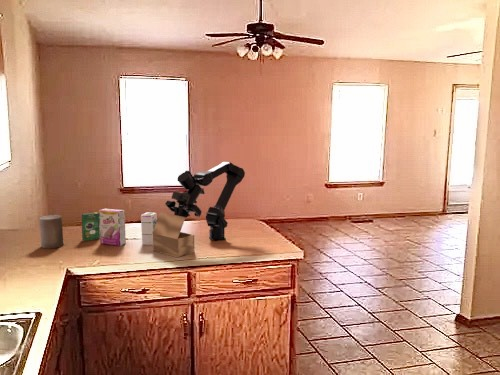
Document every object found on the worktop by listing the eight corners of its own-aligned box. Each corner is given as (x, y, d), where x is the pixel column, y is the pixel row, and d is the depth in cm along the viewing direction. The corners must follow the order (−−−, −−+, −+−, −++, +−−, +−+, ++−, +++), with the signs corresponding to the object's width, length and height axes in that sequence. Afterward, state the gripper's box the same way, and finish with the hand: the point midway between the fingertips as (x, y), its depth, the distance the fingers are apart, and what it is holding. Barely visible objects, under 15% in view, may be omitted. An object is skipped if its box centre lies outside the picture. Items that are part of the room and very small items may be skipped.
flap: (161, 212, 222) (160, 212, 222) (185, 217, 212) (185, 217, 212) (152, 233, 219) (152, 233, 219) (177, 239, 209) (176, 239, 209)
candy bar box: (99, 244, 231) (98, 210, 229) (106, 241, 236) (104, 208, 233) (120, 246, 228) (118, 211, 225) (126, 243, 232) (125, 209, 230)
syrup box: (153, 245, 230) (152, 214, 228) (141, 244, 231) (140, 214, 229) (158, 242, 235) (157, 212, 233) (146, 241, 237) (145, 211, 234)
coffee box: (98, 237, 243) (97, 211, 241) (100, 238, 241) (99, 212, 239) (82, 240, 238) (80, 213, 236) (84, 241, 236) (83, 214, 234)
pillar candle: (68, 244, 231) (66, 213, 229) (51, 249, 222) (49, 216, 220) (52, 242, 235) (50, 211, 233) (36, 247, 226) (34, 215, 224)
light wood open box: (170, 246, 228) (169, 229, 227) (194, 252, 218) (194, 234, 217) (153, 250, 220) (152, 233, 219) (177, 257, 210) (177, 239, 209)
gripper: (167, 182, 225) (149, 210, 218) (196, 186, 213) (178, 215, 206) (180, 197, 232) (163, 224, 225) (209, 202, 221) (191, 230, 214)
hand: (173, 223), depth 218 cm, fingers closed
